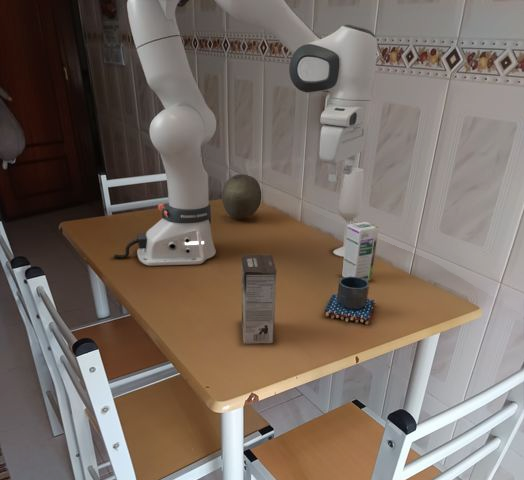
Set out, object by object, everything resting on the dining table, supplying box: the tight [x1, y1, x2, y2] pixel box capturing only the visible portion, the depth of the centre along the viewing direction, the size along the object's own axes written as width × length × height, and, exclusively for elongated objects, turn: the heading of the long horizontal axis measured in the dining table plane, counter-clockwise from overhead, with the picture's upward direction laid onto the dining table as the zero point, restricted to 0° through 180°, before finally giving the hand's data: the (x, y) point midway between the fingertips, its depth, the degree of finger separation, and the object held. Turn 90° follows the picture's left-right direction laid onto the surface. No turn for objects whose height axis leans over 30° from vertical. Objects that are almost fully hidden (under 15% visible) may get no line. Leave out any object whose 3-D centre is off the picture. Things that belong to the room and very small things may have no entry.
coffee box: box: [241, 253, 278, 345], centre depth 101 cm, size 9×6×16 cm
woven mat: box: [323, 293, 376, 326], centre depth 114 cm, size 10×11×2 cm
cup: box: [336, 277, 370, 310], centre depth 112 cm, size 7×7×5 cm
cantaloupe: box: [221, 173, 262, 220], centre depth 169 cm, size 14×14×15 cm
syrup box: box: [341, 221, 379, 282], centre depth 128 cm, size 6×6×14 cm
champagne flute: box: [332, 167, 364, 258], centre depth 141 cm, size 7×7×24 cm
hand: (340, 177), depth 116 cm, fingers open, 8 cm apart
